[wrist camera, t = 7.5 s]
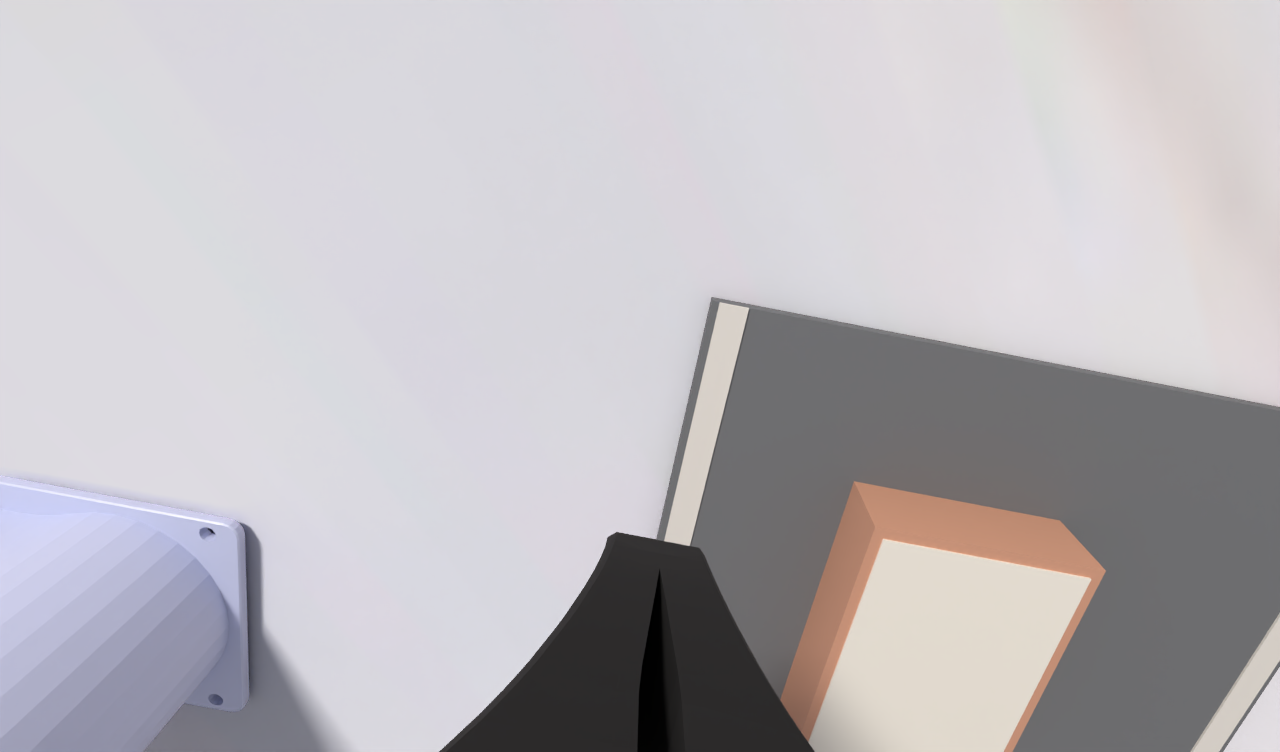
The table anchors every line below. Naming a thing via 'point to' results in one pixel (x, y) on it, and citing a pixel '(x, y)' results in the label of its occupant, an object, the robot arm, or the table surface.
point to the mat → (997, 506)
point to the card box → (935, 625)
